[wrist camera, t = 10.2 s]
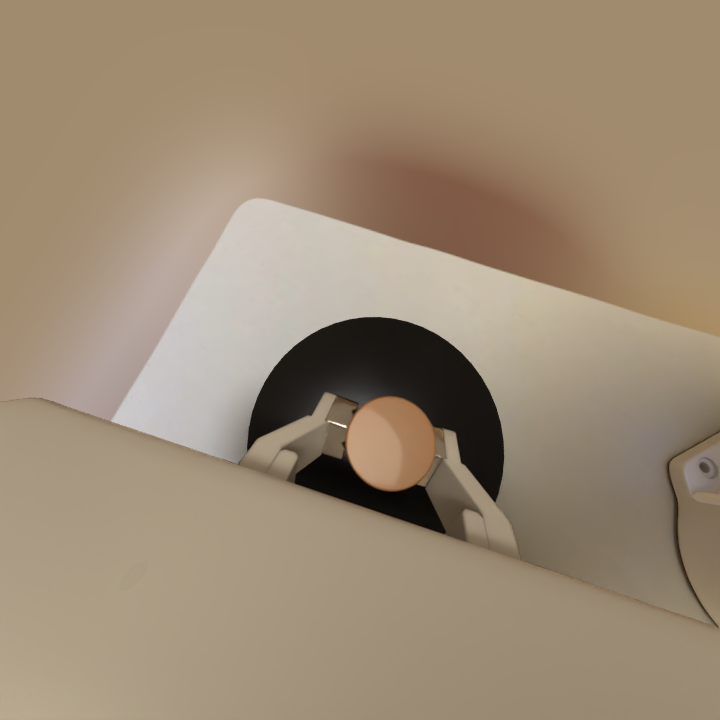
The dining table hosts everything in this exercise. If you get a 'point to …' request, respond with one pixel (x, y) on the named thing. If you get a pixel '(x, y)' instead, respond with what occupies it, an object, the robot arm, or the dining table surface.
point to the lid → (385, 413)
